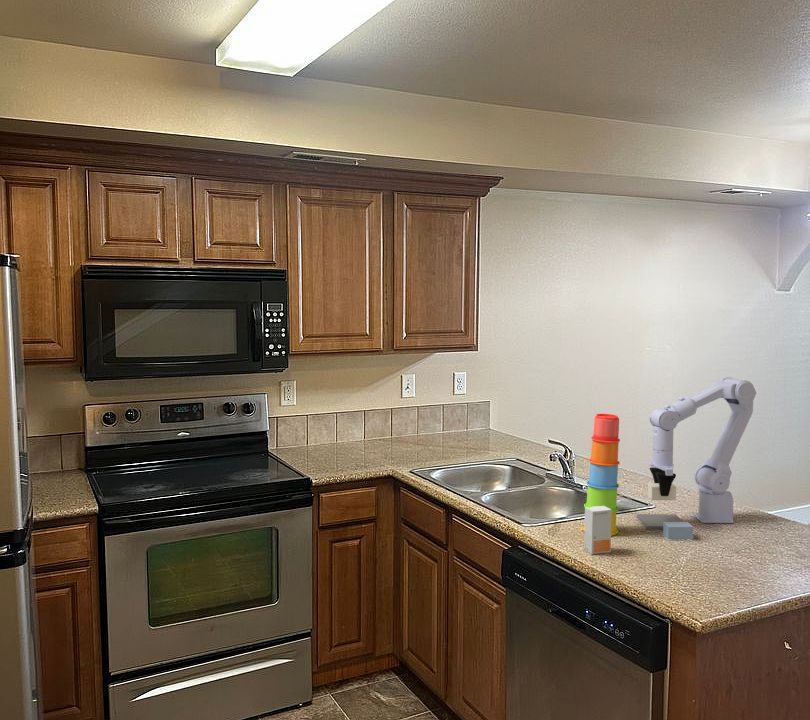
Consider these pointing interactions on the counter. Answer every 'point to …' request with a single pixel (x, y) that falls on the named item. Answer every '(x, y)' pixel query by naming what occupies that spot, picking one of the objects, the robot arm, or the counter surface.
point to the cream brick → (655, 492)
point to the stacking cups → (604, 466)
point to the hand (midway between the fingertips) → (662, 493)
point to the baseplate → (656, 520)
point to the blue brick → (677, 530)
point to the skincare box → (597, 529)
